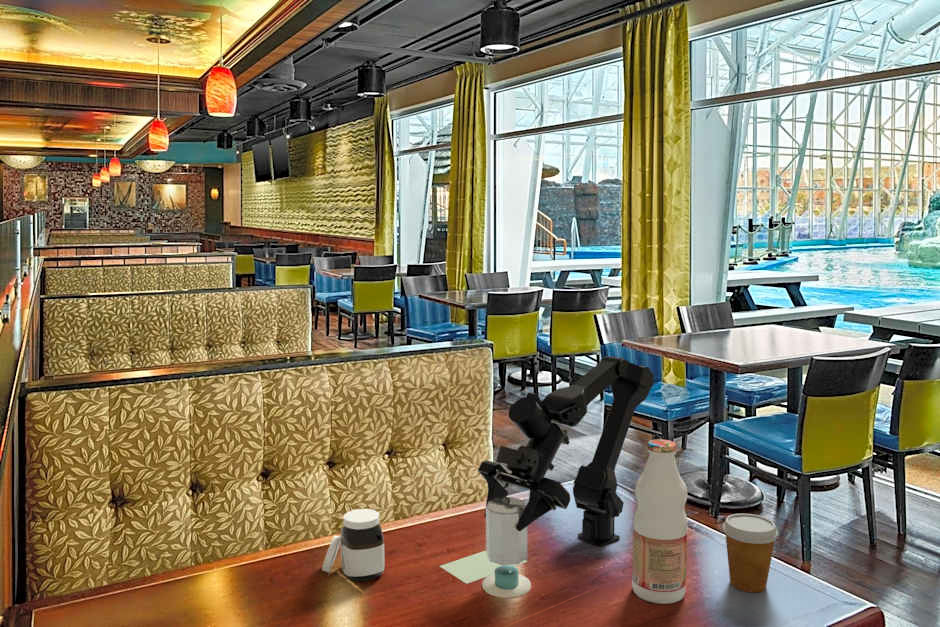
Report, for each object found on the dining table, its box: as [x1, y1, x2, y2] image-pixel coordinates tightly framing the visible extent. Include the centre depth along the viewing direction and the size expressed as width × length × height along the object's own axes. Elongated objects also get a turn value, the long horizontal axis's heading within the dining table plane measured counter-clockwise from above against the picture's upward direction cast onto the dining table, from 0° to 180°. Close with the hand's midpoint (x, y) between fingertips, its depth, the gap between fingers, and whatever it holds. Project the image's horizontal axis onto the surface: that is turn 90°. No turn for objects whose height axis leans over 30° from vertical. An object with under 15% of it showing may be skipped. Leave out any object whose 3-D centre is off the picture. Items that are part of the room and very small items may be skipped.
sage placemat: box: [439, 550, 529, 585], centre depth 148 cm, size 15×9×1 cm, turn 127°
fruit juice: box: [631, 438, 688, 605], centre depth 135 cm, size 9×9×28 cm
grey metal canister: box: [485, 496, 528, 565], centre depth 138 cm, size 7×7×11 cm
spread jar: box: [321, 508, 386, 582], centre depth 145 cm, size 12×11×12 cm
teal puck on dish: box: [481, 565, 532, 599], centre depth 139 cm, size 9×9×3 cm
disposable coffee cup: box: [722, 513, 779, 593], centre depth 139 cm, size 10×10×12 cm
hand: (501, 524), depth 137 cm, fingers closed on grey metal canister, 7 cm apart
